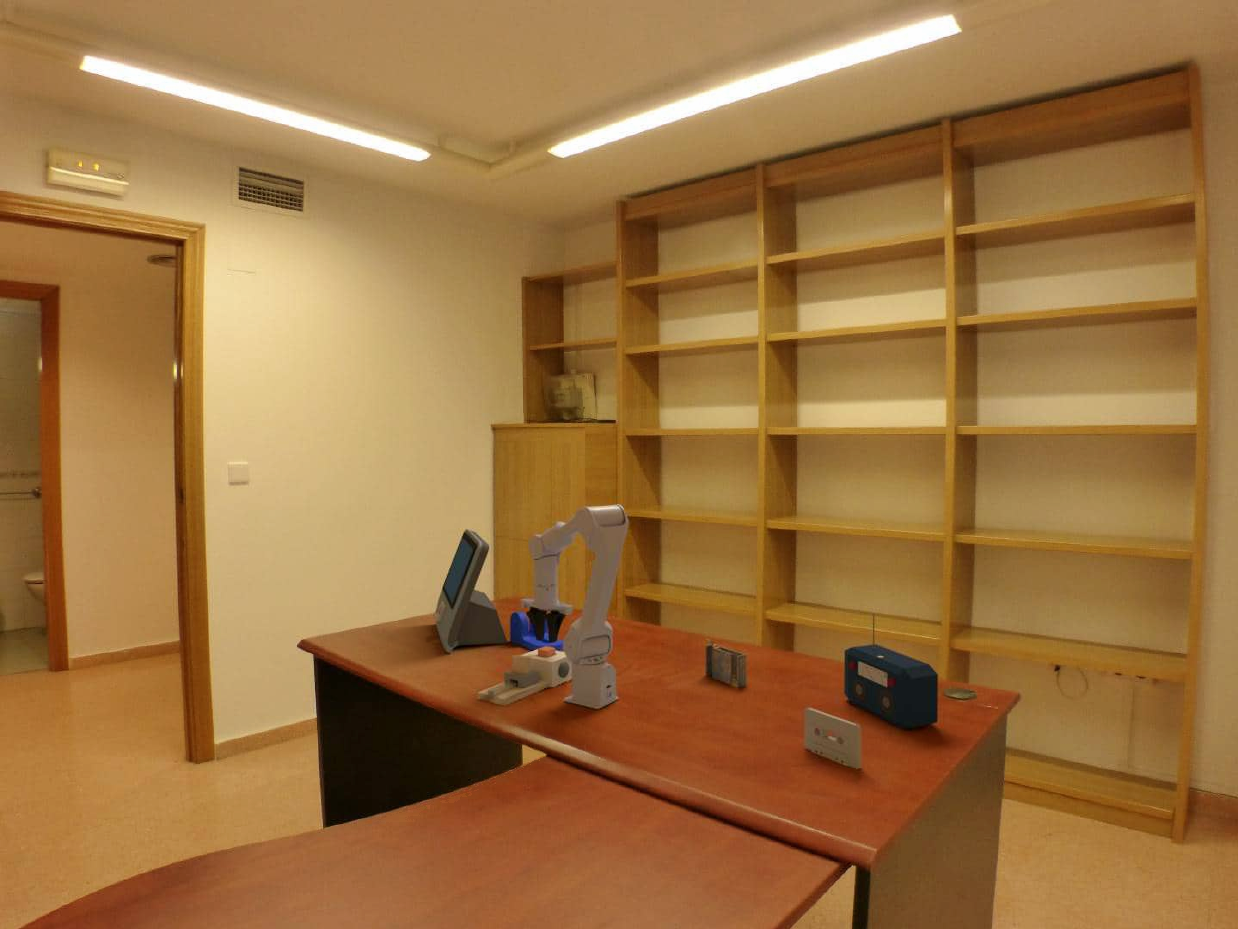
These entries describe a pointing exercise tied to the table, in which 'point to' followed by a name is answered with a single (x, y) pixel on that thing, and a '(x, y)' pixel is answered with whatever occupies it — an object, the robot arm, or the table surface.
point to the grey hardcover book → (725, 664)
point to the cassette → (838, 749)
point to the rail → (503, 688)
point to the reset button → (546, 652)
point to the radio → (891, 685)
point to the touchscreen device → (467, 600)
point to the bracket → (529, 633)
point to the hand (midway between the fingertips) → (546, 640)
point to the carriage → (521, 672)
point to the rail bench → (512, 693)
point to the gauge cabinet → (551, 667)
